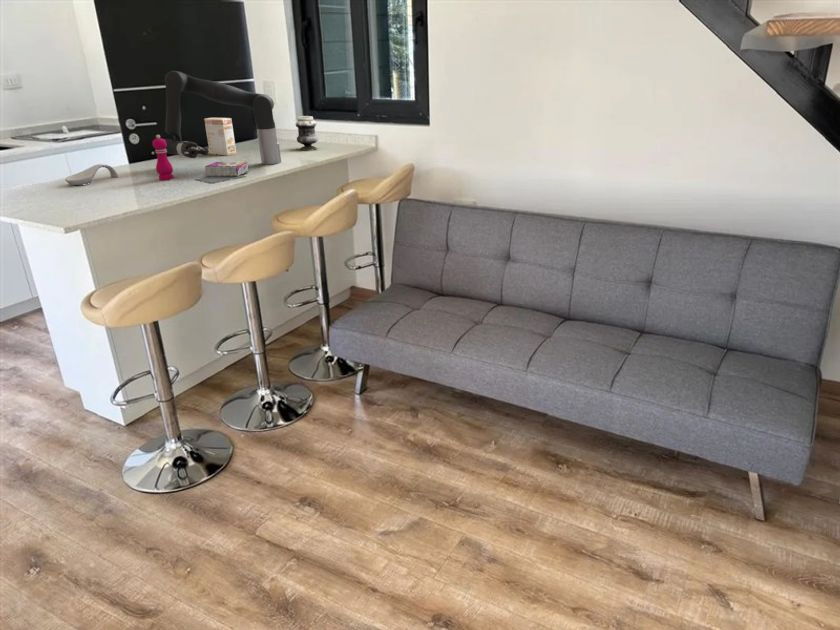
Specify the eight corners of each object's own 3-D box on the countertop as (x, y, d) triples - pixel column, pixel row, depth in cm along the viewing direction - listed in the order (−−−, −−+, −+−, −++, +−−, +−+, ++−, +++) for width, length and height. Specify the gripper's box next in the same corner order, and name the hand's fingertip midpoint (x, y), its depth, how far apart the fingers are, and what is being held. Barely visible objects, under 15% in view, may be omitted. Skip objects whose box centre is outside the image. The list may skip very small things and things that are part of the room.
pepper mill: (178, 177, 289) (169, 133, 281) (167, 180, 283) (158, 135, 274) (165, 177, 291) (156, 133, 283) (154, 180, 285) (145, 135, 277)
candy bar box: (216, 161, 296) (247, 161, 293) (218, 171, 298) (249, 171, 295) (204, 165, 286) (236, 165, 283) (206, 176, 288) (238, 176, 285)
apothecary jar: (316, 150, 351) (313, 117, 344) (295, 151, 351) (292, 118, 344) (320, 147, 362) (317, 115, 355) (299, 147, 362) (296, 115, 355)
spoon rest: (77, 188, 274) (73, 172, 271) (61, 186, 280) (56, 170, 277) (123, 178, 293) (119, 163, 290) (107, 176, 298) (103, 161, 296)
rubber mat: (230, 173, 295) (229, 172, 294) (246, 176, 286) (246, 176, 286) (195, 179, 283) (195, 179, 283) (211, 183, 274) (211, 182, 274)
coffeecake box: (237, 153, 349) (231, 117, 341) (227, 155, 343) (221, 119, 335) (219, 152, 356) (213, 117, 348) (209, 154, 351) (203, 118, 343)
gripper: (173, 143, 293) (191, 146, 282) (199, 139, 302) (217, 142, 291) (176, 159, 296) (194, 162, 285) (201, 155, 305) (220, 158, 294)
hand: (206, 152), depth 288 cm, fingers closed
